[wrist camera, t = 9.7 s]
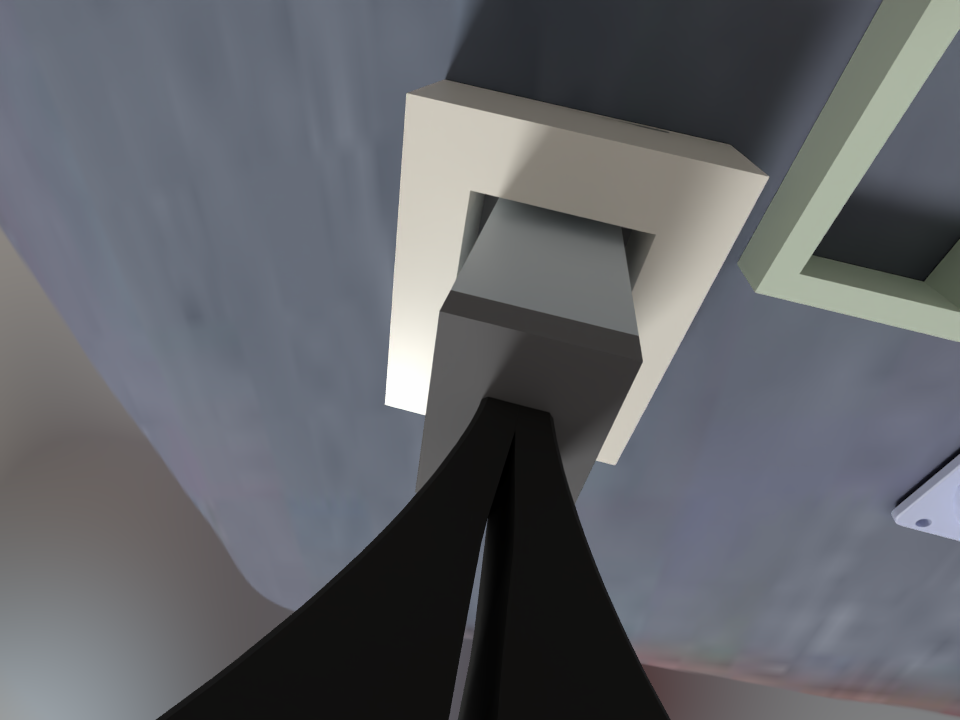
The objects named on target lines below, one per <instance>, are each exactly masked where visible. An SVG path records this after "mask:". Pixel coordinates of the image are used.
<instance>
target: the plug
mask: <svg viewBox="0 0 960 720" xmlns="http://www.w3.org/2000/svg"><path fill="white" fill-rule="evenodd" d="M642 363H643V358H642V352H641V346H640V340H639V333H638V327H637V321H636V315H635V309H634V303H633V297H632V290H631V284H630V278H629V272H628V266H627V260H626V254H625V247H624V241H623V235H622V229H621V226H617V225H613V224H609V223H604V222H600V221H596V220H592V219H588V218H584V217H579V216H575V215H571V214H567V213H563V212H559V211H554V210H550V209H546V208H542V207H538V206H533V205H529V204H525V203H521V202H517V201H513V200H508V199H504V198H500V197H499V199H498V201H497V203H496V205H495V207H494V208H493V210H492V212H491V214H490V216H489V218H488V220H487V222H486V224H485V226H484V227H483V229H482V231H481V233H480V235H479V237H478V239H477V241H476V243H475V245H474V246H473V248H472V250H471V252H470V254H469V256H468V258H467V260H466V262H465V264H464V265H463V267H462V269H461V271H460V273H459V275H458V277H457V279H456V281H455V282H454V284H453V286H452V288H451V290H450V292H449V294H448V296H447V298H446V300H445V301H444V303H443V305H442V307H441V309H440V311H439V318H438V325H437V333H436V340H435V348H434V355H433V363H432V370H431V378H430V385H429V393H428V400H427V408H426V415H425V423H424V430H423V438H422V445H421V453H420V460H419V468H418V475H417V483H416V490H415V492H416V493H418V491H419V490H420V489H421V488H422V487H423V486H424V484H425V483H426V482H427V481H428V480H429V479H430V477H431V476H432V475H433V474H434V473H435V471H436V470H437V469H438V467H439V466H440V465H441V463H442V462H443V461H444V459H445V458H446V457H447V455H448V454H449V453H450V451H451V450H452V449H453V447H454V446H455V445H456V443H457V442H458V440H459V439H460V437H461V436H462V434H463V433H464V431H465V430H466V428H467V427H468V425H469V423H470V422H471V420H472V418H473V417H474V415H475V413H476V411H477V409H478V407H479V405H480V402H481V399H484V398H486V397H492V398H496V399H499V400H503V401H507V402H511V403H515V404H519V405H522V406H526V407H530V408H534V409H538V410H542V411H546V412H550V414H551V415H552V417H553V419H554V426H555V432H556V437H557V442H558V447H559V451H560V455H561V459H562V463H563V467H564V471H565V475H566V478H567V482H568V485H569V488H570V492H571V495H572V498H573V501H574V504H575V502H576V500H577V498H578V496H579V494H580V492H581V490H582V488H583V486H584V484H585V482H586V480H587V477H588V475H589V473H590V471H591V469H592V467H593V465H594V463H595V461H596V459H597V457H598V455H599V452H600V450H601V448H602V446H603V444H604V442H605V440H606V438H607V436H608V434H609V432H610V430H611V427H612V425H613V423H614V421H615V419H616V417H617V415H618V413H619V411H620V409H621V407H622V405H623V402H624V400H625V398H626V396H627V394H628V392H629V390H630V388H631V386H632V384H633V382H634V380H635V377H636V375H637V373H638V371H639V369H640V367H641V365H642Z"/></svg>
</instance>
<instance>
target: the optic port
mask: <svg viewBox="0 0 960 720" xmlns="http://www.w3.org/2000/svg"><path fill="white" fill-rule="evenodd" d="M768 179H769V176H768V175H767V174H765V173H764V172H763V171H762V170H761V169H759V168H758V167H757V166H756V165H754V164H753V163H752V162H751V161H750V160H748V159H747V158H746V157H745V156H744V155H742V154H741V153H740V152H739V151H737V150H736V149H735V148H734V147H733V146H731V145H729V144H725V143H721V142H716V141H712V140H707V139H703V138H699V137H694V136H690V135H686V134H681V133H677V132H672V131H668V130H664V129H659V128H655V127H651V126H646V125H642V124H637V123H633V122H629V121H624V120H620V119H615V118H611V117H607V116H602V115H598V114H594V113H589V112H585V111H580V110H576V109H572V108H567V107H563V106H559V105H554V104H550V103H545V102H541V101H537V100H532V99H528V98H524V97H519V96H515V95H510V94H506V93H502V92H497V91H493V90H488V89H484V88H480V87H475V86H471V85H467V84H462V83H458V82H453V81H449V80H445V79H444V80H442V81H439V82H436V83H433V84H431V85H428V86H425V87H422V88H419V89H417V90H414V91H411V92H408V93H407V94H406V109H405V124H404V138H403V153H402V167H401V182H400V196H399V211H398V226H397V240H396V255H395V269H394V284H393V298H392V313H391V328H390V342H389V357H388V371H387V386H386V400H385V405H389V406H392V407H396V408H400V409H404V410H408V411H411V412H415V413H419V414H423V415H426V408H427V400H428V393H429V385H430V378H431V370H432V363H433V355H434V348H435V340H436V333H437V325H438V318H439V311H440V309H441V307H442V305H443V303H444V301H445V300H446V298H447V296H448V294H449V292H450V290H451V288H452V286H453V284H454V282H455V281H456V279H457V277H458V275H459V273H460V271H461V269H462V267H463V265H464V264H465V262H466V260H467V258H468V256H469V254H470V252H471V250H472V248H473V246H474V245H475V243H476V241H477V239H478V237H479V235H480V233H481V231H482V229H483V227H484V226H485V224H486V222H487V220H488V218H489V216H490V214H491V212H492V210H493V208H494V207H495V205H496V203H497V201H498V199H499V197H500V198H504V199H508V200H513V201H517V202H521V203H525V204H529V205H533V206H538V207H542V208H546V209H550V210H554V211H559V212H563V213H567V214H571V215H575V216H579V217H584V218H588V219H592V220H596V221H600V222H604V223H609V224H613V225H617V226H621V229H622V235H623V241H624V247H625V254H626V260H627V266H628V272H629V278H630V284H631V290H632V297H633V303H634V309H635V315H636V321H637V327H638V333H639V340H640V346H641V352H642V358H643V363H642V365H641V367H640V369H639V371H638V373H637V375H636V377H635V380H634V382H633V384H632V386H631V388H630V390H629V392H628V394H627V396H626V398H625V400H624V402H623V405H622V407H621V409H620V411H619V413H618V415H617V417H616V419H615V421H614V423H613V425H612V427H611V430H610V432H609V434H608V436H607V438H606V440H605V442H604V444H603V446H602V448H601V450H600V452H599V455H598V457H597V459H596V461H600V462H604V463H608V464H612V465H616V463H617V461H618V459H619V457H620V455H621V454H622V452H623V450H624V448H625V446H626V444H627V442H628V440H629V439H630V437H631V435H632V433H633V431H634V429H635V427H636V425H637V424H638V422H639V420H640V418H641V416H642V414H643V412H644V411H645V409H646V407H647V405H648V403H649V401H650V399H651V397H652V396H653V394H654V392H655V390H656V388H657V386H658V384H659V382H660V381H661V379H662V377H663V375H664V373H665V371H666V369H667V368H668V366H669V364H670V362H671V360H672V358H673V356H674V354H675V353H676V351H677V349H678V347H679V345H680V343H681V341H682V339H683V338H684V336H685V334H686V332H687V330H688V328H689V326H690V324H691V323H692V321H693V319H694V317H695V315H696V313H697V311H698V310H699V308H700V306H701V304H702V302H703V300H704V298H705V296H706V295H707V293H708V291H709V289H710V287H711V285H712V283H713V281H714V280H715V278H716V276H717V274H718V272H719V270H720V268H721V267H722V265H723V263H724V261H725V259H726V257H727V255H728V253H729V252H730V250H731V248H732V246H733V244H734V242H735V240H736V238H737V237H738V235H739V233H740V231H741V229H742V227H743V225H744V224H745V222H746V220H747V218H748V216H749V214H750V212H751V210H752V209H753V207H754V205H755V203H756V201H757V199H758V197H759V195H760V194H761V192H762V190H763V188H764V186H765V184H766V182H767V180H768Z"/></svg>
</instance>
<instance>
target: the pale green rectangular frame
mask: <svg viewBox="0 0 960 720" xmlns="http://www.w3.org/2000/svg"><path fill="white" fill-rule="evenodd" d="M959 29H960V0H883V1H882V3H881V5H880V7H879V9H878V10H877V12H876V14H875V16H874V18H873V19H872V21H871V23H870V25H869V27H868V28H867V30H866V32H865V34H864V36H863V37H862V39H861V41H860V43H859V45H858V46H857V48H856V50H855V52H854V54H853V55H852V57H851V59H850V61H849V63H848V65H847V66H846V68H845V70H844V72H843V74H842V75H841V77H840V79H839V81H838V83H837V84H836V86H835V88H834V90H833V92H832V93H831V95H830V97H829V99H828V101H827V102H826V104H825V106H824V108H823V110H822V111H821V113H820V115H819V117H818V119H817V120H816V122H815V124H814V126H813V128H812V129H811V131H810V133H809V135H808V137H807V138H806V140H805V142H804V144H803V146H802V147H801V149H800V151H799V153H798V155H797V156H796V158H795V160H794V162H793V164H792V165H791V167H790V169H789V171H788V173H787V175H786V176H785V178H784V180H783V182H782V184H781V185H780V187H779V189H778V191H777V193H776V194H775V196H774V198H773V200H772V202H771V203H770V205H769V207H768V209H767V211H766V212H765V214H764V216H763V218H762V220H761V221H760V223H759V225H758V227H757V229H756V230H755V232H754V234H753V236H752V238H751V239H750V241H749V243H748V245H747V247H746V248H745V250H744V252H743V254H742V256H741V257H740V259H739V261H738V263H737V265H738V266H739V268H740V269H741V271H742V273H743V274H744V276H745V277H746V279H747V281H748V282H749V284H750V285H751V287H752V288H753V290H754V292H756V293H760V294H764V295H768V296H772V297H776V298H780V299H784V300H789V301H793V302H797V303H801V304H805V305H809V306H813V307H817V308H821V309H826V310H830V311H834V312H838V313H842V314H846V315H850V316H854V317H859V318H863V319H867V320H871V321H875V322H879V323H883V324H887V325H891V326H896V327H900V328H904V329H908V330H912V331H916V332H920V333H924V334H928V335H933V336H937V337H941V338H945V339H949V340H953V341H957V342H960V239H959V240H958V242H957V243H956V244H955V245H954V246H953V248H952V249H951V250H950V251H949V252H948V254H947V255H946V256H945V257H944V258H943V260H942V261H941V262H940V263H939V264H938V265H937V267H936V268H935V269H934V270H933V271H932V273H931V274H930V275H929V276H928V277H927V279H926V280H925V281H924V282H923V281H919V280H915V279H911V278H906V277H902V276H898V275H894V274H889V273H885V272H881V271H877V270H873V269H868V268H864V267H860V266H856V265H852V264H847V263H843V262H839V261H835V260H831V259H826V258H822V257H818V256H814V255H812V254H813V252H814V251H815V249H816V248H817V246H818V245H819V243H820V242H821V240H822V239H823V237H824V235H825V234H826V232H827V231H828V229H829V228H830V226H831V225H832V223H833V222H834V220H835V219H836V217H837V216H838V214H839V213H840V211H841V209H842V208H843V206H844V205H845V203H846V202H847V200H848V199H849V197H850V196H851V194H852V193H853V191H854V190H855V188H856V186H857V185H858V183H859V182H860V180H861V179H862V177H863V176H864V174H865V173H866V171H867V170H868V168H869V167H870V165H871V163H872V162H873V160H874V159H875V157H876V156H877V154H878V153H879V151H880V150H881V148H882V147H883V145H884V144H885V142H886V141H887V139H888V137H889V136H890V134H891V133H892V131H893V130H894V128H895V127H896V125H897V124H898V122H899V121H900V119H901V118H902V116H903V114H904V113H905V111H906V110H907V108H908V107H909V105H910V104H911V102H912V101H913V99H914V98H915V96H916V95H917V93H918V91H919V90H920V88H921V87H922V85H923V84H924V82H925V81H926V79H927V78H928V76H929V75H930V73H931V72H932V70H933V68H934V67H935V65H936V64H937V62H938V61H939V59H940V58H941V56H942V55H943V53H944V52H945V50H946V49H947V47H948V46H949V44H950V42H951V41H952V39H953V38H954V36H955V35H956V33H957V32H958V30H959Z"/></svg>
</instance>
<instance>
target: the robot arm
mask: <svg viewBox="0 0 960 720" xmlns="http://www.w3.org/2000/svg"><path fill="white" fill-rule="evenodd" d="M891 515H892V517H893V519H894V520H895V522H896V523H897V524H899V525H901V526H904V527H908V528H912V529H916V530H920V531H923V532H927V533H931V534H935V535H939V536H942V537H946V538H950V539H954V540H958V541H960V454H959V455H958V456H957V457H955V458H954V459H953V460H952V461H951V462H950V463H948V464H947V465H946V466H945V467H944V468H942V469H941V470H940V471H939V472H938V473H936V474H935V475H934V476H933V477H932V478H930V479H929V480H928V481H927V482H926V483H924V484H923V485H922V486H921V487H920V488H918V489H917V490H916V491H915V492H914V493H913V494H911V495H910V496H909V497H908V498H907V499H905V500H904V501H903V502H902V503H901V504H899V505H898V506H897V507H896V508H895V509H894V510H893V511H892V514H891ZM487 519H488V521H487ZM486 522H487V529H486V537H485V546H484V554H483V562H482V571H481V579H480V588H479V596H478V605H477V613H476V622H475V630H474V637H473V644H472V651H471V657H470V662H469V667H468V672H467V678H466V682H465V687H464V692H463V697H462V702H461V707H460V712H459V717H458V720H670V718H669V716H668V714H667V713H666V710H665V709H664V707H663V705H662V703H661V701H660V699H659V698H658V696H657V694H656V692H655V690H654V688H653V686H652V685H651V683H650V681H649V679H648V677H647V676H646V673H645V671H644V670H643V667H642V665H641V663H640V661H639V659H638V657H637V655H636V653H635V651H634V649H633V647H632V645H631V643H630V641H629V639H628V637H627V635H626V632H625V630H624V628H623V626H622V624H621V622H620V619H619V617H618V615H617V613H616V611H615V608H614V606H613V604H612V602H611V600H610V597H609V595H608V593H607V590H606V588H605V586H604V583H603V581H602V578H601V576H600V573H599V571H598V568H597V566H596V563H595V561H594V558H593V556H592V553H591V550H590V548H589V545H588V542H587V540H586V537H585V534H584V531H583V528H582V526H581V523H580V520H579V517H578V514H577V511H576V507H575V504H574V501H573V498H572V495H571V492H570V488H569V485H568V482H567V478H566V475H565V471H564V467H563V463H562V459H561V455H560V451H559V447H558V442H557V437H556V432H555V426H554V419H553V417H552V415H551V414H550V412H546V411H542V410H538V409H534V408H530V407H526V406H522V405H519V404H515V403H511V402H507V401H503V400H499V399H496V398H492V397H486V398H484V399H481V402H480V405H479V407H478V409H477V411H476V413H475V415H474V417H473V418H472V420H471V422H470V423H469V425H468V427H467V428H466V430H465V431H464V433H463V434H462V436H461V437H460V439H459V440H458V442H457V443H456V445H455V446H454V447H453V449H452V450H451V451H450V453H449V454H448V455H447V457H446V458H445V459H444V461H443V462H442V463H441V465H440V466H439V467H438V469H437V470H436V471H435V473H434V474H433V475H432V476H431V477H430V479H429V480H428V481H427V482H426V483H425V484H424V486H423V487H422V488H421V489H420V490H419V491H418V493H417V494H416V495H415V496H414V497H413V498H412V500H411V501H410V502H409V503H408V504H407V505H406V506H405V508H404V509H403V510H402V511H401V512H400V513H399V514H398V515H397V516H396V517H395V518H394V519H393V521H392V522H391V523H390V524H389V525H388V526H387V527H386V528H385V529H384V530H383V531H382V532H381V533H380V534H379V535H378V536H377V537H376V538H375V539H374V540H373V541H372V542H371V543H370V544H369V545H368V546H367V547H366V548H365V549H364V550H363V551H362V552H361V553H360V554H359V555H358V556H357V557H356V558H354V559H353V560H352V561H351V562H350V563H349V564H348V565H347V566H346V567H345V568H344V569H343V570H342V571H340V572H339V573H338V574H337V575H336V576H335V577H334V578H333V579H332V580H331V581H330V582H329V583H327V584H326V585H325V586H324V587H323V588H322V589H321V590H320V591H318V592H317V593H316V594H315V595H314V596H313V597H312V598H311V599H309V600H308V601H307V602H306V603H305V604H304V605H302V606H301V607H300V608H299V609H298V610H296V611H295V612H294V613H293V614H292V615H290V616H289V617H288V618H287V619H285V620H284V621H283V622H282V623H281V624H279V625H278V626H277V627H276V628H274V629H273V630H272V631H271V632H270V633H268V634H267V635H266V636H265V637H263V638H262V639H261V640H260V641H259V642H257V643H256V644H255V645H254V646H252V647H251V648H250V649H249V650H247V651H246V652H245V653H244V654H243V655H241V656H240V657H239V658H238V659H237V660H235V661H234V662H233V663H231V664H230V665H229V666H227V667H226V668H225V669H224V670H222V671H221V672H220V673H218V674H217V675H216V676H215V677H213V678H212V679H210V680H209V681H208V682H206V683H205V684H204V685H203V686H201V687H200V688H198V689H197V690H195V691H194V692H193V693H191V694H190V695H189V696H188V697H186V698H185V699H183V700H182V701H181V702H179V703H178V704H177V705H175V706H174V707H172V708H171V709H170V710H168V711H167V712H166V713H164V714H163V715H162V716H160V717H159V718H158V719H156V720H448V719H449V714H450V708H451V703H452V697H453V692H454V686H455V680H456V675H457V669H458V664H459V658H460V653H461V648H462V642H463V637H464V631H465V626H466V621H467V615H468V610H469V604H470V599H471V594H472V588H473V583H474V578H475V573H476V567H477V562H478V557H479V552H480V546H481V541H482V538H483V534H484V530H485V526H486Z"/></svg>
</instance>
